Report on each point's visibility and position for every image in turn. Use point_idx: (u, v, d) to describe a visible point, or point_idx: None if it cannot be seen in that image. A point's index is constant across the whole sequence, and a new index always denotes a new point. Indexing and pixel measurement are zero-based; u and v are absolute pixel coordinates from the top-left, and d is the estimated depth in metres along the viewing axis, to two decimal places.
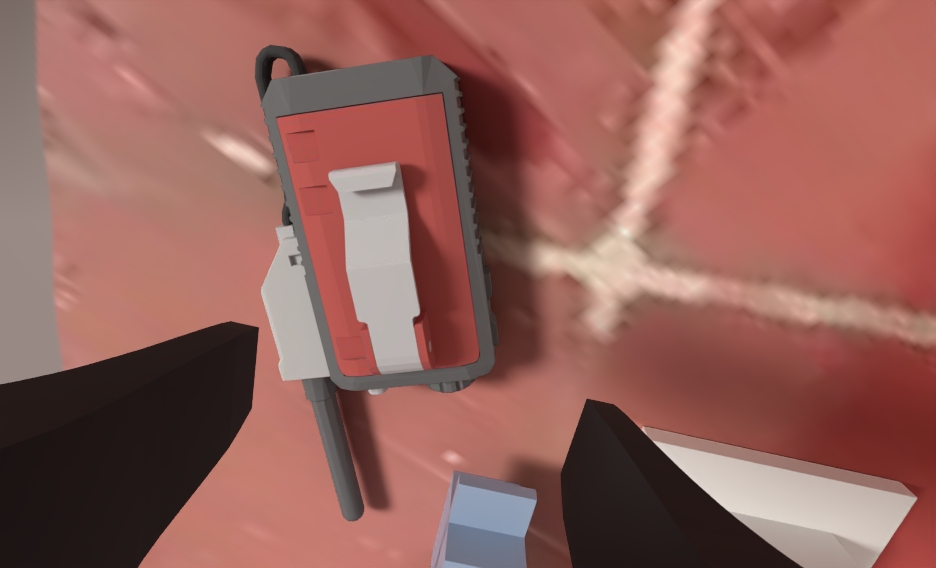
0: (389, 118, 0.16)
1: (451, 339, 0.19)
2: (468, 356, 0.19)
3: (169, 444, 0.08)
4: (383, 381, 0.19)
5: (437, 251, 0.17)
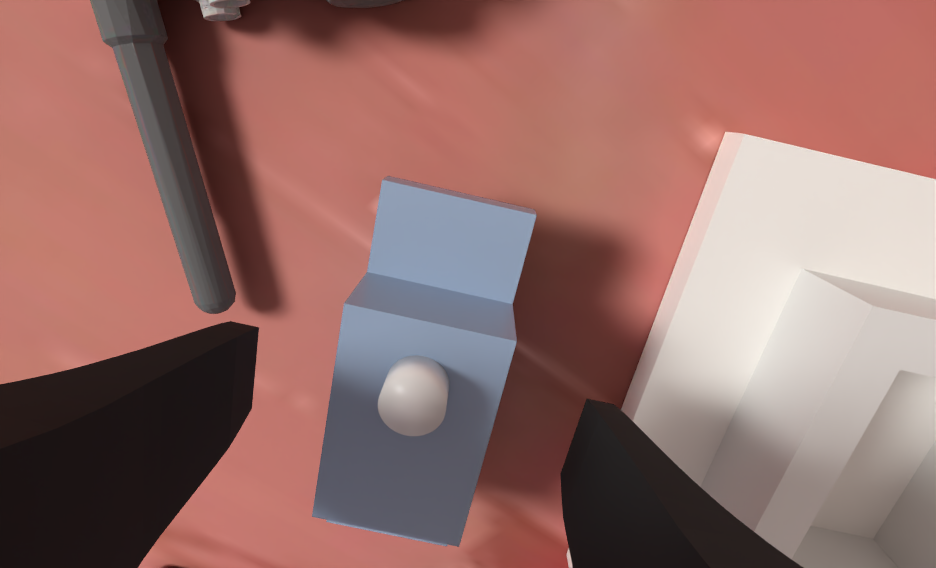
0: None
1: None
2: None
3: (169, 444, 0.08)
4: None
5: None
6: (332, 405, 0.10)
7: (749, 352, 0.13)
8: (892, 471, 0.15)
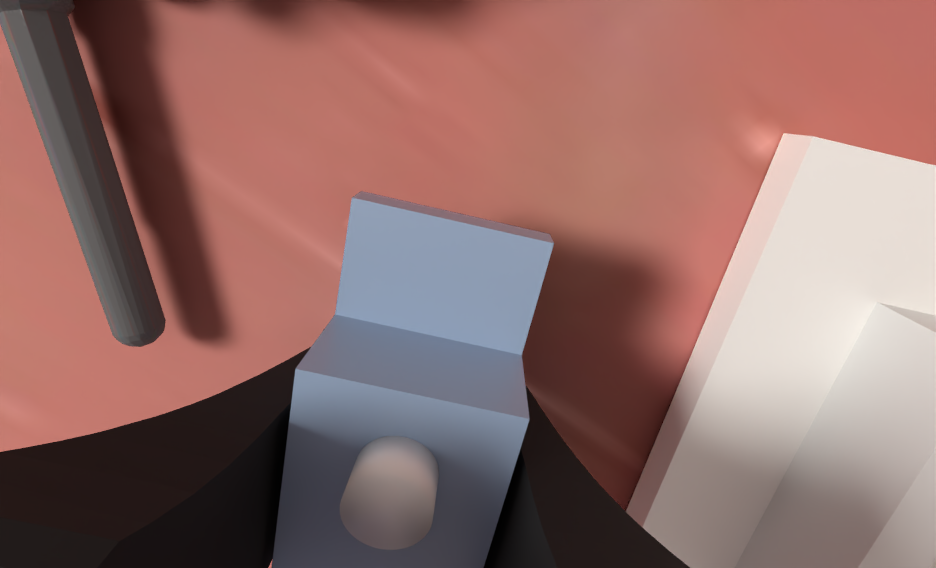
0: None
1: None
2: None
3: None
4: None
5: None
6: (285, 496, 0.08)
7: (806, 400, 0.11)
8: None
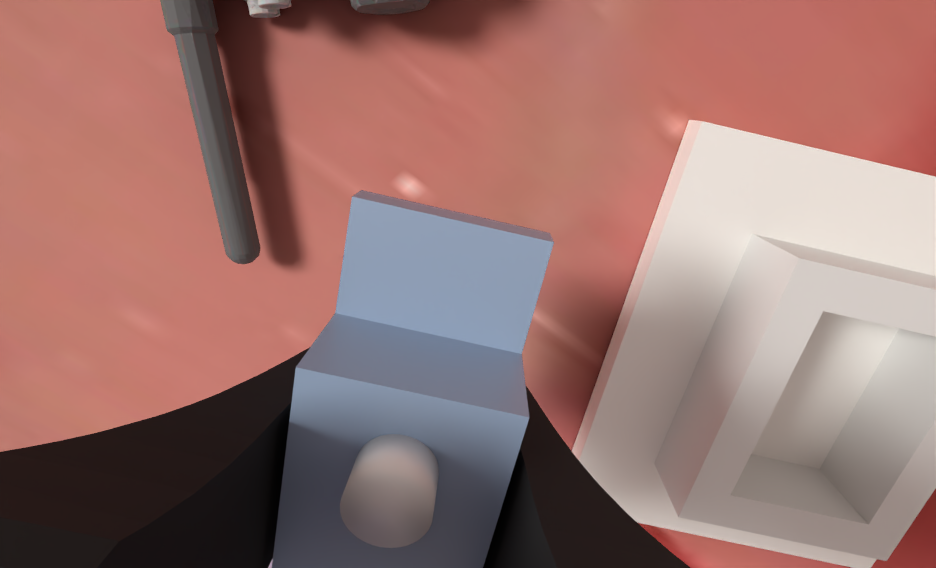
0: None
1: None
2: None
3: None
4: None
5: None
6: (285, 495, 0.08)
7: (710, 305, 0.16)
8: (833, 409, 0.17)
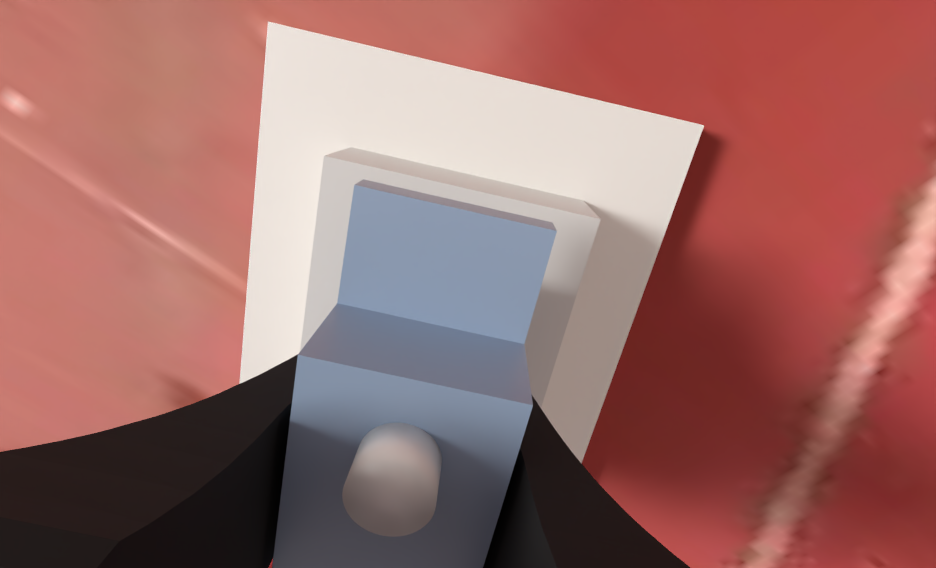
0: None
1: None
2: None
3: None
4: None
5: None
6: (287, 484, 0.08)
7: None
8: None
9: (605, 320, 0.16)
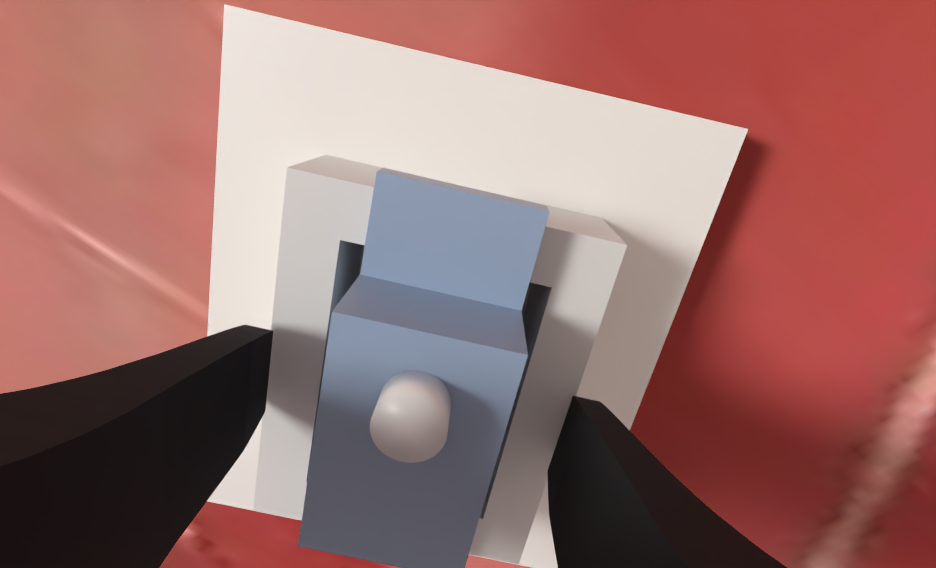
0: None
1: None
2: None
3: (188, 448, 0.08)
4: None
5: None
6: (319, 425, 0.09)
7: None
8: None
9: (626, 356, 0.14)
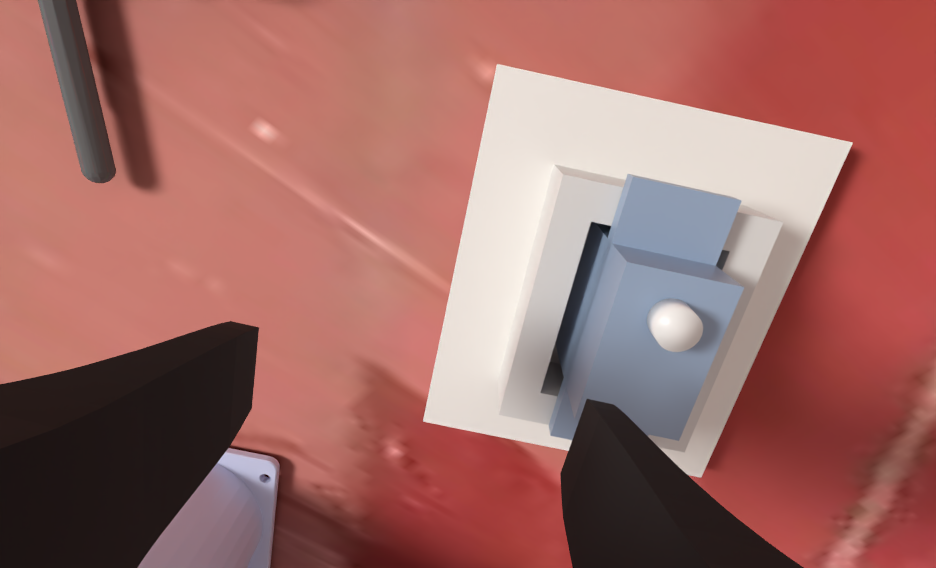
0: None
1: None
2: None
3: (169, 444, 0.08)
4: None
5: None
6: (604, 335, 0.14)
7: (526, 230, 0.18)
8: None
9: (755, 306, 0.19)
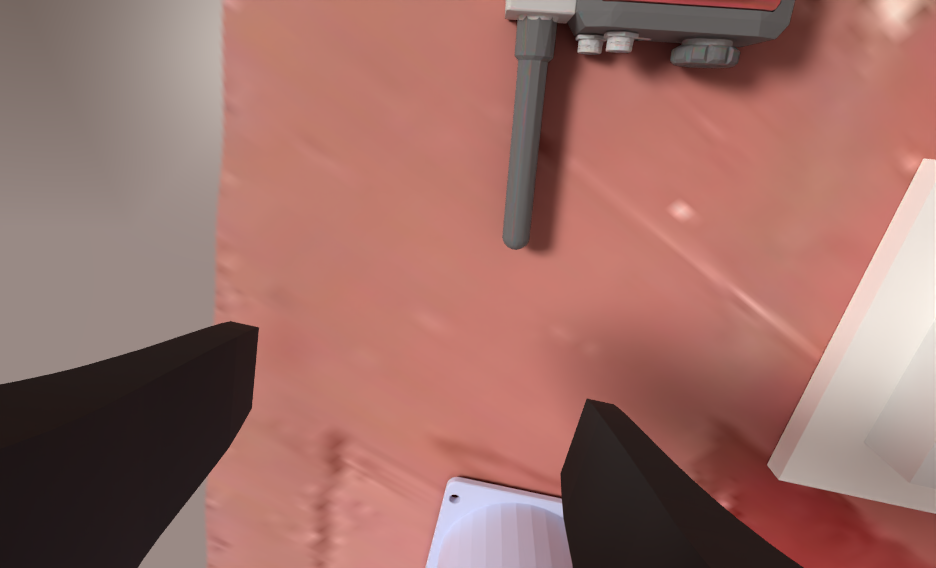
0: None
1: None
2: None
3: (169, 444, 0.08)
4: (650, 16, 0.15)
5: None
6: None
7: (931, 308, 0.20)
8: None
9: None
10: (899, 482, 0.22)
